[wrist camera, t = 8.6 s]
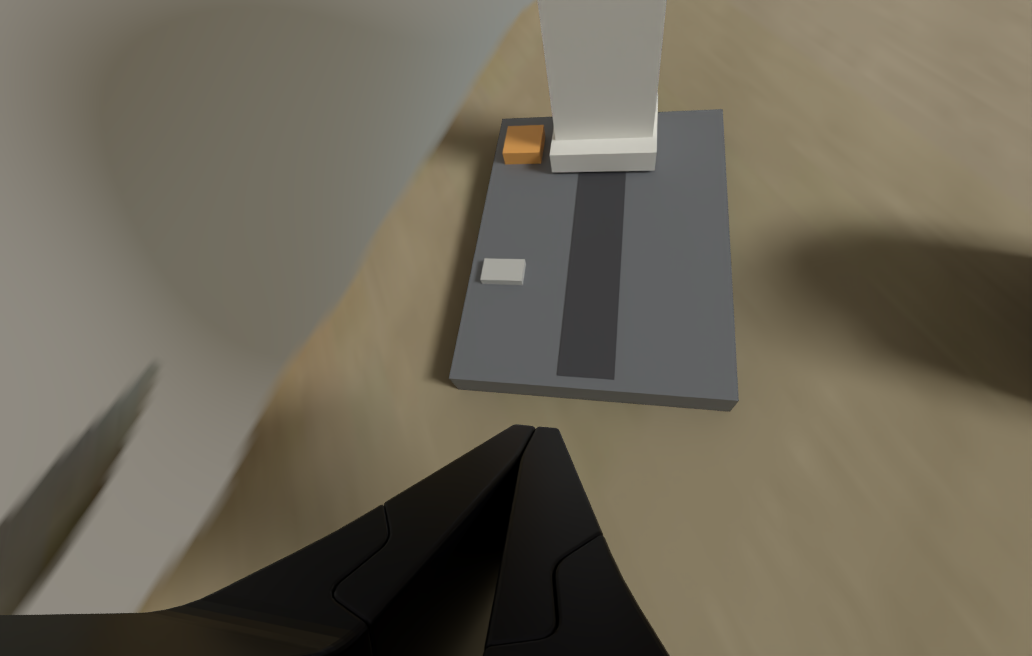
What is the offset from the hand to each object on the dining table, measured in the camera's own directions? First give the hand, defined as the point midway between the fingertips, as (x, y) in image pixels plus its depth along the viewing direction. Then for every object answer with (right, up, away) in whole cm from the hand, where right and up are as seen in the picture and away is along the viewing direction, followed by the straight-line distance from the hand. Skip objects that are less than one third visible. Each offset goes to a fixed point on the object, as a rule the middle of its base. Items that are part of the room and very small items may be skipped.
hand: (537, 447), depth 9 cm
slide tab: (+4, +12, +17) cm, 21 cm away
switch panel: (+4, +6, +16) cm, 17 cm away
